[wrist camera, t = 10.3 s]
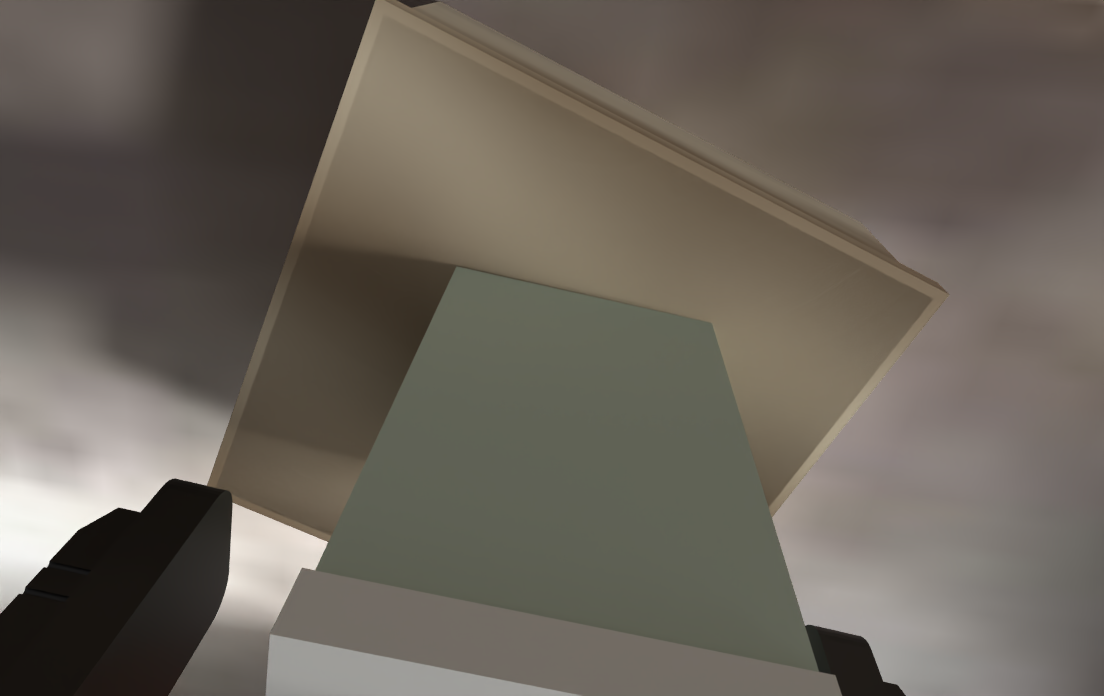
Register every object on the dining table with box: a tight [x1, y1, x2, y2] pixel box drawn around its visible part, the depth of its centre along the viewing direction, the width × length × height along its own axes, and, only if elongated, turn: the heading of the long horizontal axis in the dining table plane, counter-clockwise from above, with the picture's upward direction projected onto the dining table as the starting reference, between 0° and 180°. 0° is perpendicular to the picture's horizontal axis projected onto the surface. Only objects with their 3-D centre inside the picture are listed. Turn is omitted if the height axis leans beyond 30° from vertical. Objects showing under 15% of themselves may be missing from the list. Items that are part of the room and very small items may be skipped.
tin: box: [266, 266, 842, 696], centre depth 12 cm, size 5×5×9 cm
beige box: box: [207, 0, 949, 542], centre depth 18 cm, size 11×11×5 cm
